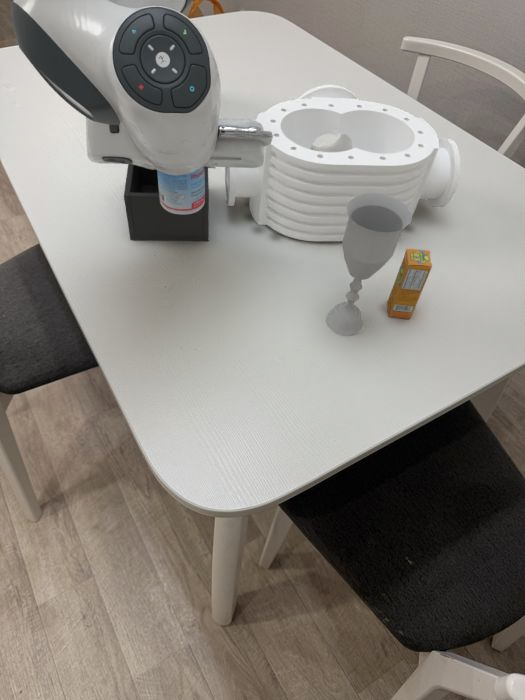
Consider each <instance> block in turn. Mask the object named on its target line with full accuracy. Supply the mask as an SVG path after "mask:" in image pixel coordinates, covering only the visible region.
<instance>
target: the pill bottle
mask: <svg viewBox="0 0 525 700" xmlns="http://www.w3.org/2000/svg"><path fill="white" fill-rule="evenodd" d="M157 174H158V185H159V197H160V203H161V205H162V207H163V208H164V209H165V210H167V211H168V212H171V213H174V214H192V213H195V212H197V211H199V210H200V209H201V208H202V207H203V205H204V203H205V168H204V166H202V167H201V168H200V169H198V170H196V171H194V172H192V173H189V174H186V175H169V174H165V173H162V172H160V171H158V170H157Z"/></svg>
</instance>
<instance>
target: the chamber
mask: <svg viewBox="0 0 525 700" xmlns="http://www.w3.org/2000/svg"><path fill="white" fill-rule="evenodd" d="M123 199H124V206H125V214H126V221H127V226H128V233H129V240H130V241H179V242H180V241H183V242H209V239H210V237H209V235H210V233H209V232H210V230H209V229H210V227H209V226H210V225H209V223H210V221H209V219H210V215H209V214H210V213H209V212H210V193H209V168H205V203H204V205H203V207H202V208H201V209H200V210H199V211H197V212H195V213H192V214H174V213H171V212H168V211H167V210H165V209H164V208H163V207H162V205H161V203H160V197H159V185H158V174H157V170H156V169H154V170H152V169H147V168H144V167H141V166H137V165H133V164H127V171H126V178H125V185H124V192H123Z"/></svg>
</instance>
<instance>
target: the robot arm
mask: <svg viewBox="0 0 525 700" xmlns="http://www.w3.org/2000/svg"><path fill="white" fill-rule="evenodd" d="M194 1H195V0H12V1H10V16H11V24H12V27H13V32H14V36H15V39H16V41H17V45H18V48H19V49H20V51H21V52H22V53H23V55H24V56H25V57H26V59H27V60H28V61H29V63H30V64H31V65H32V66H33V68H34V69H35V71H37V74H39V75H40V77H41V78H42V80H44V81H45V82H46V83H47V85H48V86H49V87H50V88H51V89H52V90H53V91H54V92H55V93H56V94H57V95H58V96H59V97H60V98H61V99H62V100H64V101H65V102H66V103H67V104H68V105H69V106H70V107H72V108H73V109H74V110H76V111H77V112H78V113H79V114H81V115H82V116H84V117H85V140H86V156H87V158H88V160H89V161H90V162H92V163H95V164H101V165H102V164H106V165H109V164H111V165H128V164H133V165H137V166H141V167H144V168H147V169H152V170H154V169H156V170H158V171H160V172H162V173H165V174H169V175H186V174H189V173H192V172H194V171H196V170H198V169H200V168H201V167H202V166H204V168H208V169H216V168H225V167H236V168H257V167H260V166H262V165H263V163H264V146H267V145H269V144H271V141H272V139H273V135H272V132H271V131H264V129H263V126H262V125H261V124H260V123H259V122H257V121H256V120H253V119H252V120H251V119H243V118H242V119H239V118H220V113H221V106H222V105H221V104H222V84H221V76H220V72H219V68H218V64H217V60H216V58H215V55H214V53H213V50H212V49H211V46H210V43H209V42H208V40H207V38H206V36H205V35H204V33H203V32H202V31H201V29H200V28H199V27H198V25H197V24H195V22H194V21H193V20H192V19H191V18H189V17H188V16H186V15H185V14H184V11H185V10H187V8H188V7H189V6H190V5H191V4H192V3H193V2H194Z"/></svg>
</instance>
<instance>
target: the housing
mask: <svg viewBox="0 0 525 700" xmlns="http://www.w3.org/2000/svg"><path fill="white" fill-rule="evenodd" d="M255 121H257V122H259V123H260V124H261V125H262V126H263V129H264V131H271V132H272V135H273V139H272V141H271V144H269V145H267V146H264V163H263V165H262V166H260V167H257V168H236V167H224V182H225V199H226V205H227V207H229V206H231V207H234V206H235V201H236V198H249V204H248V205H249V206H248V207H249V211H250V214H251V217H252V218H253V220H254V221H255V222H256V224H257V225H258V226H268V227H270V229H272V230H274V231H275V232H277V233H279V234H281V235H282V236H285V237H288V238H291V239H295V240H300V241H306V242H343V238H344V234H345V230H346V227H347V223H348V219H349V216H348V213H347V205H348V203H349V202H350V200H352V199H353V198H355V197H356V196H359V195H362V194H369V193H376V194H384V195H388V196H392V197H394V198H396V199H398V200H400V201H401V202H403V203H404V204H405V205H407V207H408V208H409V210H410V211H411V215H412V217H413V216H414V213H415V211H416V209H417V206H418V203H419V200H426V201H427V203H428V205H429V206H431V207H432V208H436V209H437V208H440V209H441V208H443V207H446V206H447V205H448V204H449V203H450V202H451V200H452V199H453V197H454V194H455V193H456V190H457V187H458V184H459V180H460V173H461V156H460V150H459V147H458V145H457V143H456V142H455V141H454V140H453V139H451V138H441V139H439V136H438V133H437V132H436V130H435V129H434V127H432V126H431V124H429V122H427V121H426V120H425V119H423V118H422V117H416V116H415V115H413V114H412V113H410V112H408V111H406V110H403V109H401V108H398V107H396V106H392V105H389V104H386V103H381V102H376V101H368V100H361V99H360V98H359V97H358V96H357V95H356V94H355V93H354V92H353V91H351V90H350V89H348V88H347V87H344V86H342V85H336V84H323V85H319V86H316V87H313V88H311V89H308V90H306V91H305V92H304V93H302V94H301V95H300V96H299V97H297V98H296V99H291V100H285V101H282V102H280V103H276V104H274V105H273V106H271V107H269V108H268V109H267V110H266V111H262V112H261V111H260V112H259V113H258V115H257V117H256V119H255ZM329 134H330V135H336V136H339V135H340V136H339V137H338V138H337V139H336V140H335V141H334V142H332V143H330V144H328V145H326V146H316V145H314V143H315V142H316V141H317V139H319V138H320V137H322V136H324V135H329ZM408 226H410V224H409V225H407V227H408Z"/></svg>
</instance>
